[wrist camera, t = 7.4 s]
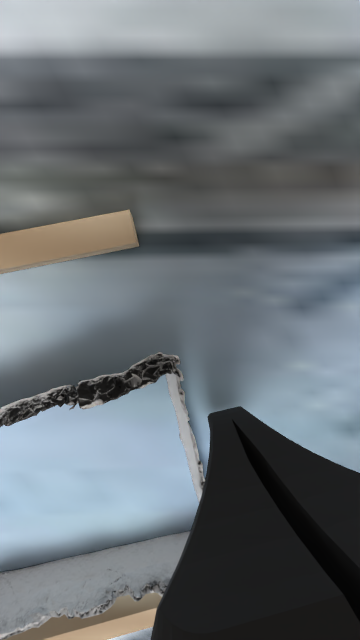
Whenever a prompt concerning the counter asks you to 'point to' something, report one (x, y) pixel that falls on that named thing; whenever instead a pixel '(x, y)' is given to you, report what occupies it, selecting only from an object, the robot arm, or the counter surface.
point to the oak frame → (53, 247)
